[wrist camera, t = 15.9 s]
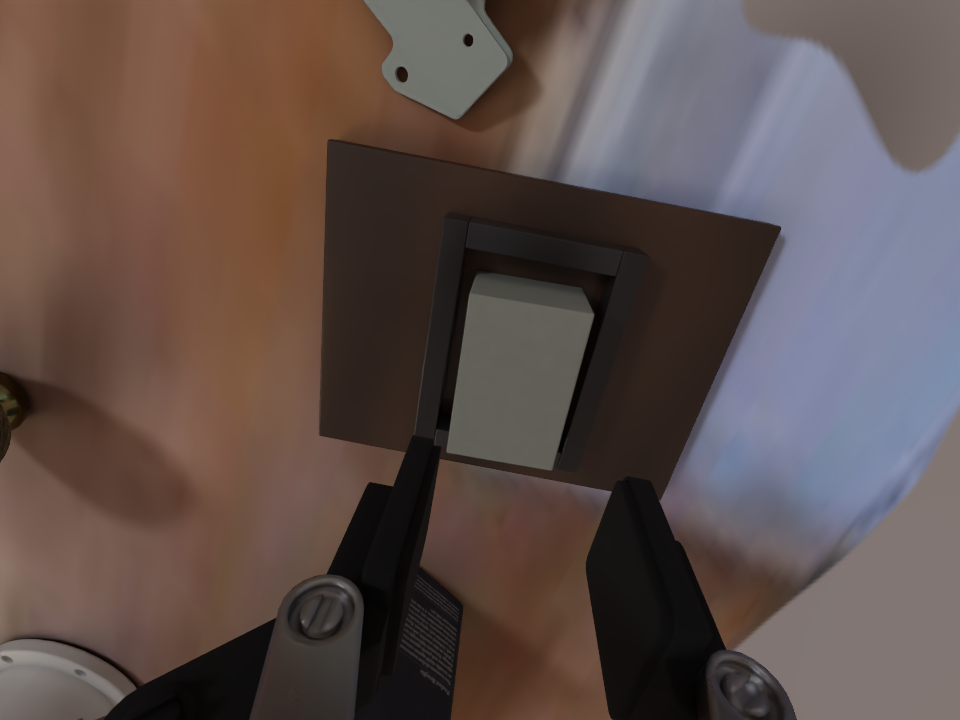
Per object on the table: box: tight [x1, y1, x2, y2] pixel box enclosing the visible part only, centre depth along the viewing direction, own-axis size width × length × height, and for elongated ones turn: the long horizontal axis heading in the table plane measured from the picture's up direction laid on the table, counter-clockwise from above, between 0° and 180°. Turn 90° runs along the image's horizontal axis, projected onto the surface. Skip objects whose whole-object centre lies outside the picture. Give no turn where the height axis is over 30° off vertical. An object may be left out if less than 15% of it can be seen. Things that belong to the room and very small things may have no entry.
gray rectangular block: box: [447, 271, 594, 471], centre depth 19 cm, size 4×7×4 cm, turn 171°
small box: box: [354, 568, 463, 720], centre depth 26 cm, size 11×6×10 cm, turn 131°
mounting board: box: [319, 139, 781, 500], centre depth 20 cm, size 18×14×2 cm
